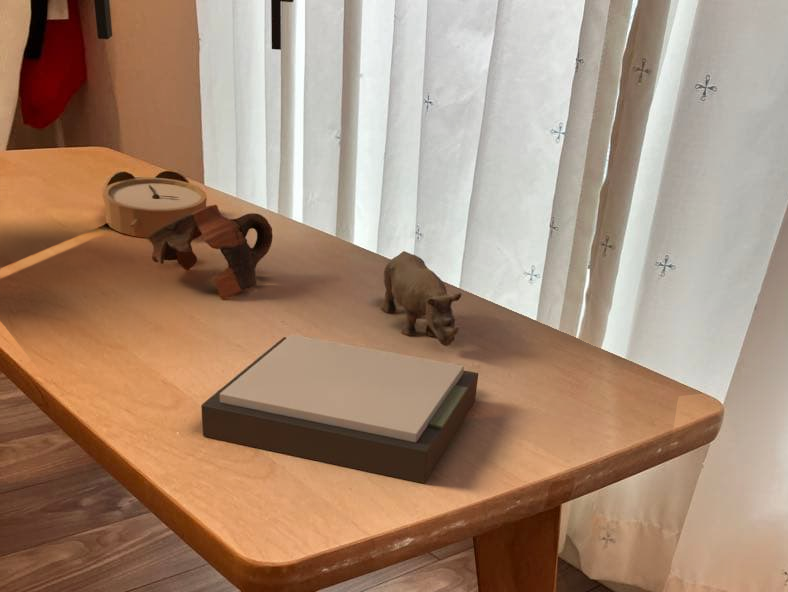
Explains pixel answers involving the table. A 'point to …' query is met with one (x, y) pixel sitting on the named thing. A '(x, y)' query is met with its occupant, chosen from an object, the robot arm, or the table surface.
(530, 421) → the table surface
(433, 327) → the rhino figurine
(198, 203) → the alarm clock
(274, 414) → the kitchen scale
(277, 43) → the robot arm
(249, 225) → the brown jagged curved piece
